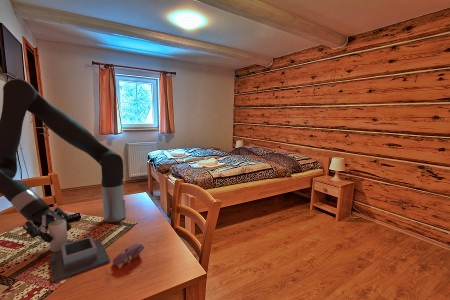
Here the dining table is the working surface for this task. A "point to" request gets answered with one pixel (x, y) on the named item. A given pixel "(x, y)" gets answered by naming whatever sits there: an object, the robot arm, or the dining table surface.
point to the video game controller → (128, 254)
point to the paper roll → (57, 234)
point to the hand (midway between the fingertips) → (61, 235)
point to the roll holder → (77, 258)
